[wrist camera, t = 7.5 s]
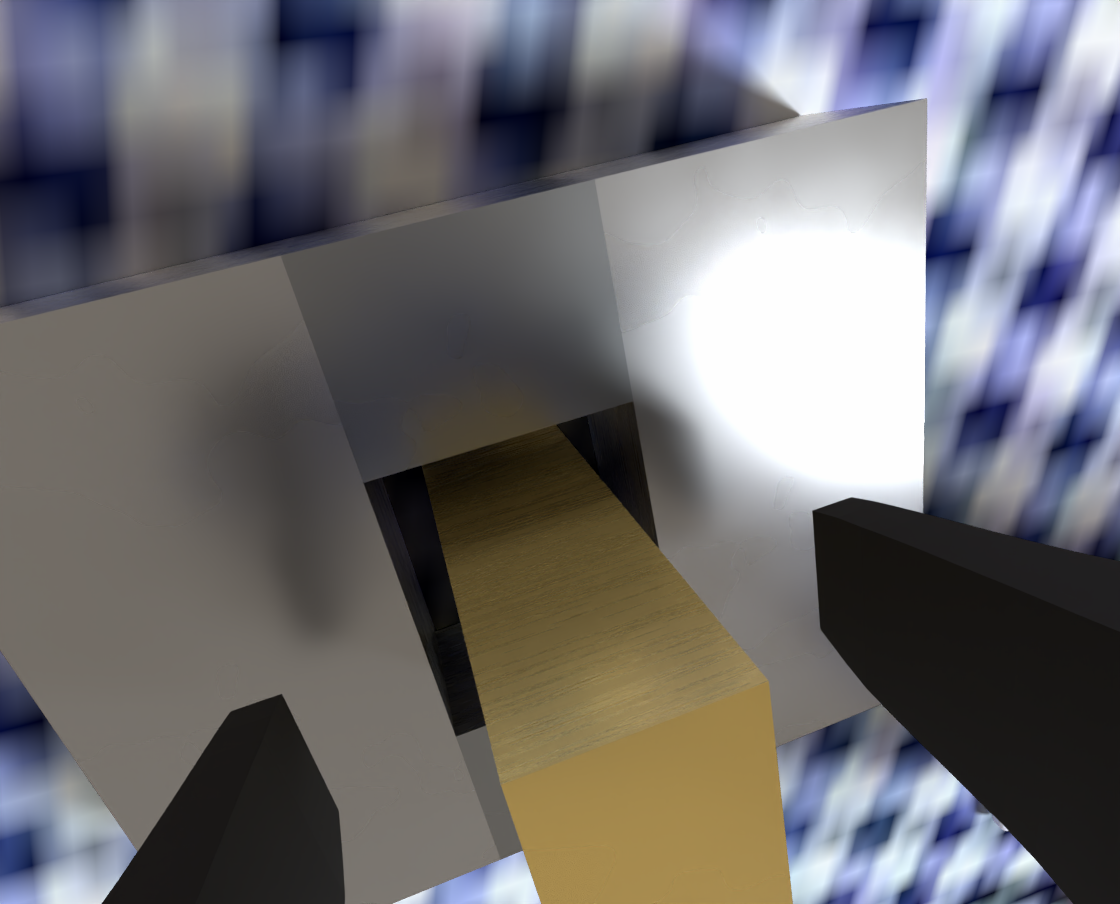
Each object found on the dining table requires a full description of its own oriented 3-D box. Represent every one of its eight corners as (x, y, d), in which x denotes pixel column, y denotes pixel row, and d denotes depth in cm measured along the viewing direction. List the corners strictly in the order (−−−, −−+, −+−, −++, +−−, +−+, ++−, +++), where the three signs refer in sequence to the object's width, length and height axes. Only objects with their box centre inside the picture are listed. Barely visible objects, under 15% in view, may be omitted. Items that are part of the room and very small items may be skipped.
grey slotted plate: (803, 115, 13) (927, 98, 10) (830, 607, 17) (920, 688, 14) (-49, 319, 10) (-193, 370, 8) (244, 827, 15) (221, 973, 12)
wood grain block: (541, 406, 13) (768, 681, 6) (574, 548, 14) (793, 912, 7) (416, 443, 13) (499, 785, 6) (462, 586, 14) (578, 1011, 7)
